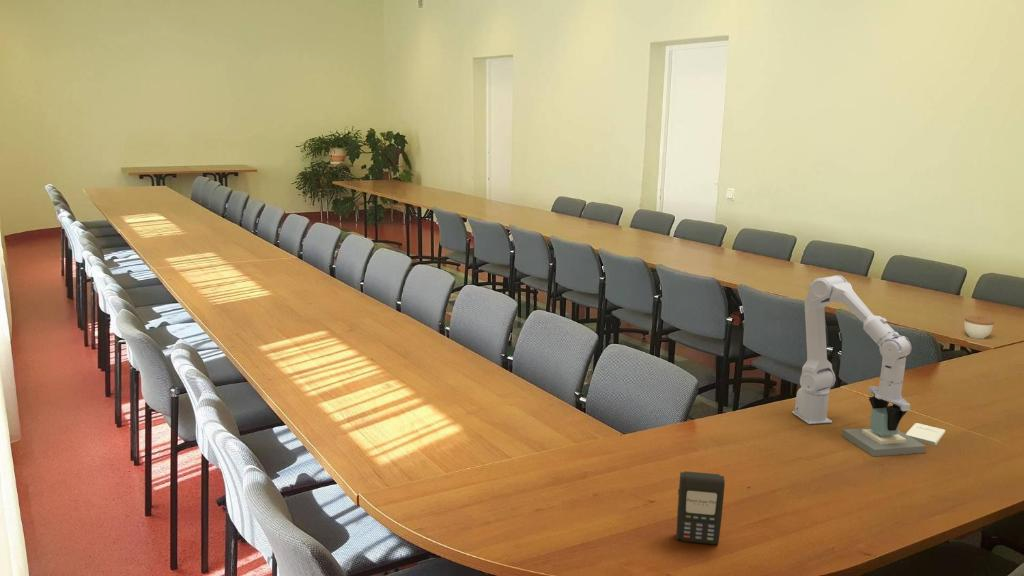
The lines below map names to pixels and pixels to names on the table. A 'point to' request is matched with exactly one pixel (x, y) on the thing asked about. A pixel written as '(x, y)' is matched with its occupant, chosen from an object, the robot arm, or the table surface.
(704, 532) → the card reader
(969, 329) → the lidded jar
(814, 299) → the robot arm
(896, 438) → the base board
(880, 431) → the block
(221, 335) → the table surface
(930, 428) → the external hard drive
